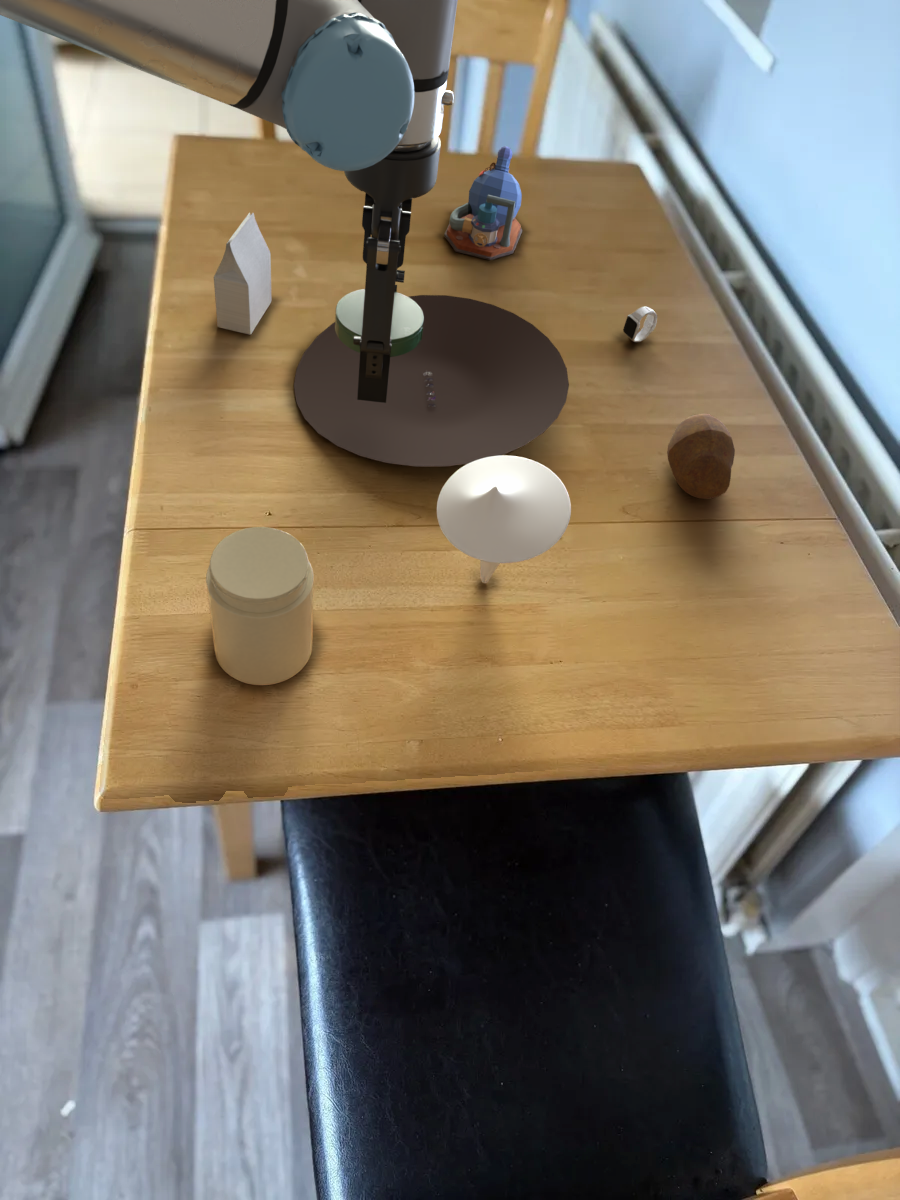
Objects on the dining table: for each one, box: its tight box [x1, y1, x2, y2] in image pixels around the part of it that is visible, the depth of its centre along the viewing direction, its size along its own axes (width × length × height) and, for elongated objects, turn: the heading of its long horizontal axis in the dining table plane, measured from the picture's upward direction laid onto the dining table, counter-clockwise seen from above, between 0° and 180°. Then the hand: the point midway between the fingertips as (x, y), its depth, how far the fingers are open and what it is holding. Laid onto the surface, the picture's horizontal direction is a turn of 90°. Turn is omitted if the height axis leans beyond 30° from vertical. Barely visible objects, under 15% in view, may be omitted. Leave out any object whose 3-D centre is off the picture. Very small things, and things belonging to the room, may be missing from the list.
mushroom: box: [436, 455, 572, 584], centre depth 74 cm, size 10×11×12 cm
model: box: [443, 145, 523, 261], centre depth 113 cm, size 12×9×9 cm
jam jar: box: [205, 526, 315, 686], centre depth 68 cm, size 8×8×10 cm
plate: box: [293, 294, 570, 467], centre depth 93 cm, size 28×28×4 cm
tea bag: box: [213, 212, 273, 336], centre depth 95 cm, size 4×7×10 cm, turn 168°
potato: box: [666, 413, 736, 500], centre depth 89 cm, size 7×10×6 cm
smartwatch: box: [622, 306, 658, 343], centre depth 104 cm, size 4×2×4 cm, turn 121°
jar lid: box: [334, 288, 424, 357], centre depth 84 cm, size 8×8×2 cm
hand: (375, 370), depth 88 cm, fingers closed on jar lid, 8 cm apart
